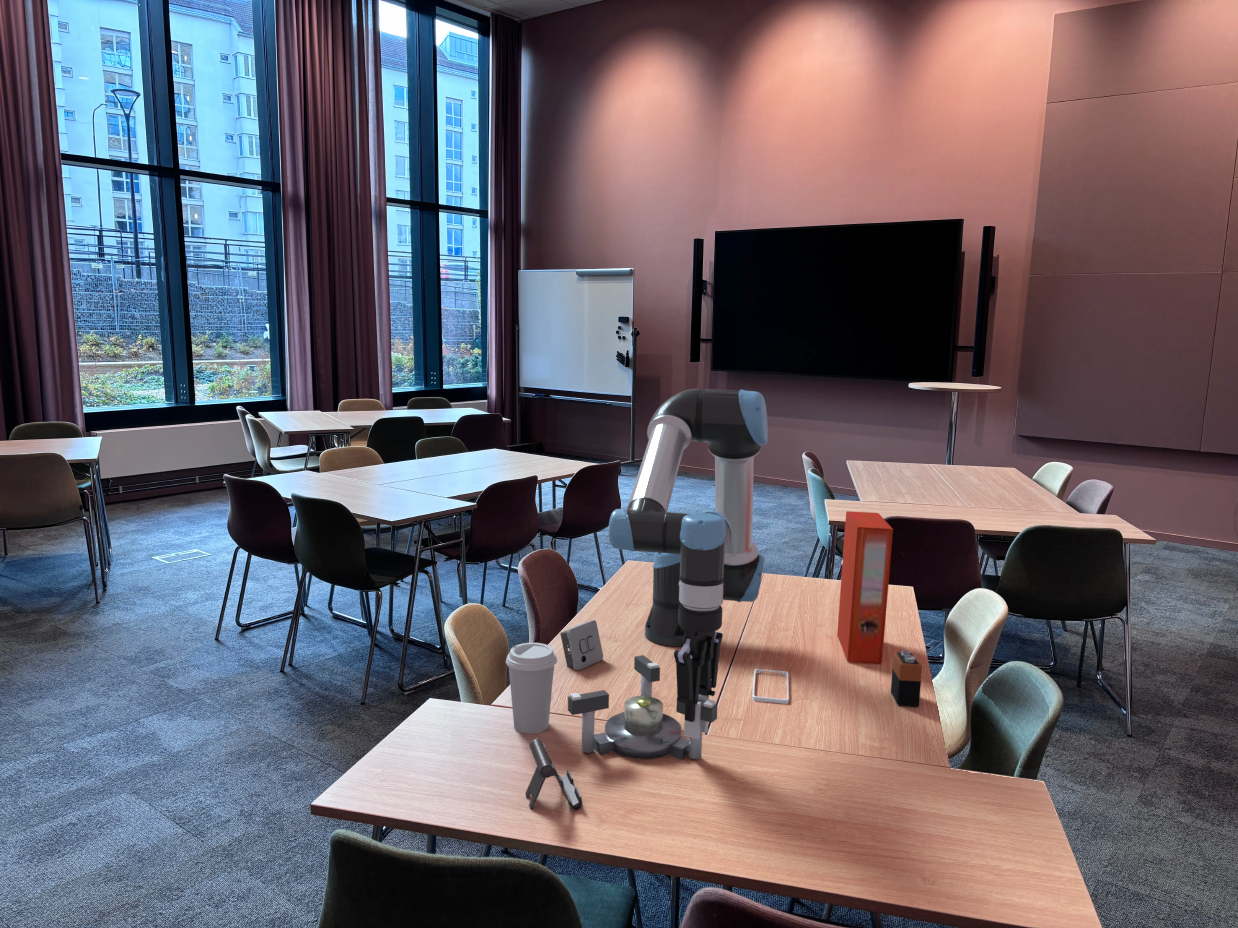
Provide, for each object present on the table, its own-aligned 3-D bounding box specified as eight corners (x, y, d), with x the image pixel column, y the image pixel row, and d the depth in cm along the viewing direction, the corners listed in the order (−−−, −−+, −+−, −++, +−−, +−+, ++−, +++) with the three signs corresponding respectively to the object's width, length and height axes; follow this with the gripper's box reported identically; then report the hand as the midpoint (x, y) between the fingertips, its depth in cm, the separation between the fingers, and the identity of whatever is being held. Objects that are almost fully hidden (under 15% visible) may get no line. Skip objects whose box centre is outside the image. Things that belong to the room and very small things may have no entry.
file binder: (870, 637, 207) (878, 512, 202) (883, 664, 190) (893, 528, 185) (837, 635, 208) (844, 511, 203) (847, 662, 191) (856, 526, 186)
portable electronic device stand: (582, 810, 129) (583, 760, 128) (532, 818, 127) (533, 767, 126) (569, 781, 138) (570, 734, 137) (522, 788, 136) (522, 740, 134)
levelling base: (638, 711, 164) (639, 674, 162) (712, 735, 154) (713, 696, 153) (582, 748, 149) (582, 707, 148) (660, 777, 140) (661, 734, 138)
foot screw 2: (632, 705, 166) (634, 654, 164) (642, 703, 167) (643, 652, 165) (649, 719, 159) (650, 666, 158) (659, 717, 160) (660, 665, 159)
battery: (897, 706, 168) (901, 659, 167) (889, 692, 175) (893, 647, 173) (919, 707, 168) (923, 661, 166) (911, 693, 175) (914, 648, 173)
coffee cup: (535, 709, 164) (535, 637, 161) (566, 726, 157) (567, 650, 155) (495, 724, 157) (495, 649, 155) (527, 742, 150) (527, 664, 148)
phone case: (788, 706, 169) (788, 677, 183) (788, 699, 168) (788, 671, 183) (751, 702, 170) (754, 673, 185) (752, 696, 170) (754, 668, 184)
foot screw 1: (603, 742, 150) (604, 686, 148) (608, 748, 148) (609, 691, 146) (567, 750, 147) (567, 693, 145) (571, 756, 145) (572, 698, 143)
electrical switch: (577, 672, 182) (574, 631, 182) (559, 668, 186) (557, 627, 185) (604, 660, 190) (602, 620, 189) (587, 656, 193) (584, 617, 192)
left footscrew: (674, 752, 147) (676, 695, 145) (681, 747, 149) (682, 691, 147) (709, 764, 143) (711, 706, 142) (715, 759, 145) (717, 701, 143)
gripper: (703, 589, 150) (698, 711, 154) (658, 611, 138) (654, 743, 141) (740, 597, 146) (735, 723, 150) (697, 620, 133) (692, 757, 137)
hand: (695, 732), depth 145 cm, fingers closed on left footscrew, 2 cm apart
